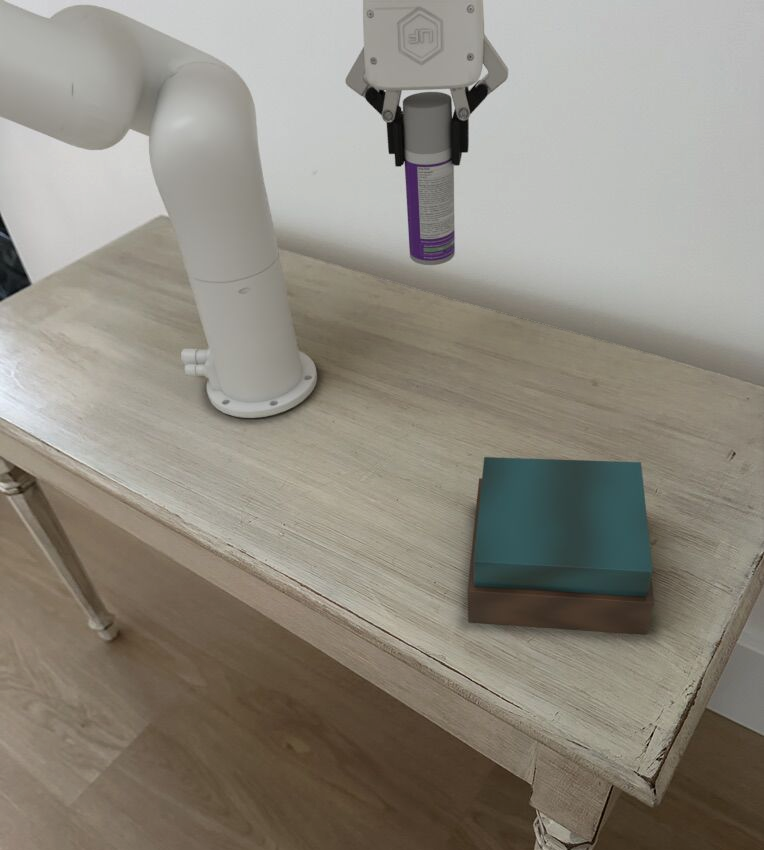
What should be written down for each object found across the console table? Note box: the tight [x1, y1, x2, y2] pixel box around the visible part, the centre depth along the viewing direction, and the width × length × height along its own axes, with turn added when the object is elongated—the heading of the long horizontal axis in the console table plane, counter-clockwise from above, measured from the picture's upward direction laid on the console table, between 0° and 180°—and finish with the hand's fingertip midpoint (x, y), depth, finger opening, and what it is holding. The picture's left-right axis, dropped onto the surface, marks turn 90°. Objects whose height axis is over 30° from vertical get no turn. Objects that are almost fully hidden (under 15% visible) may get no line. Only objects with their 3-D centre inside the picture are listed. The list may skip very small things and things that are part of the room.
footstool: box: [466, 456, 655, 635], centre depth 65 cm, size 14×13×7 cm
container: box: [402, 91, 456, 266], centre depth 77 cm, size 5×5×15 cm
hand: (428, 158), depth 75 cm, fingers closed on container, 4 cm apart
